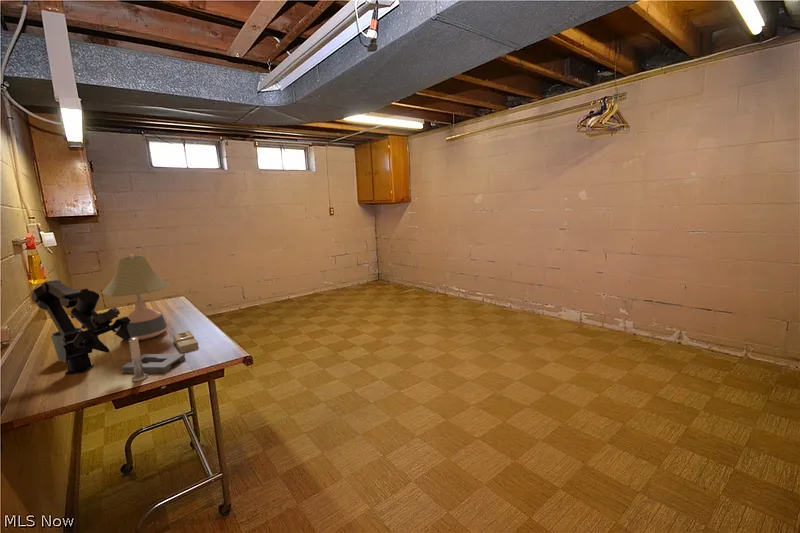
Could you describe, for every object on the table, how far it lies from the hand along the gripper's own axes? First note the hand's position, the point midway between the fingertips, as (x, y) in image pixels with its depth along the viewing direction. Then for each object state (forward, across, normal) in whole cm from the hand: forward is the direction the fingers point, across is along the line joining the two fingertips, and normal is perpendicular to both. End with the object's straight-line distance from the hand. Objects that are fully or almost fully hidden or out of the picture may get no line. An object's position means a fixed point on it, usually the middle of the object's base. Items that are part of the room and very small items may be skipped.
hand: (120, 346), depth 132 cm
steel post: (+13, 0, +5) cm, 14 cm away
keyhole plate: (+11, +11, +7) cm, 17 cm away
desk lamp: (-13, +41, +31) cm, 53 cm away
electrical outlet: (+9, +32, +10) cm, 35 cm away
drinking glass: (-21, +15, +39) cm, 47 cm away
